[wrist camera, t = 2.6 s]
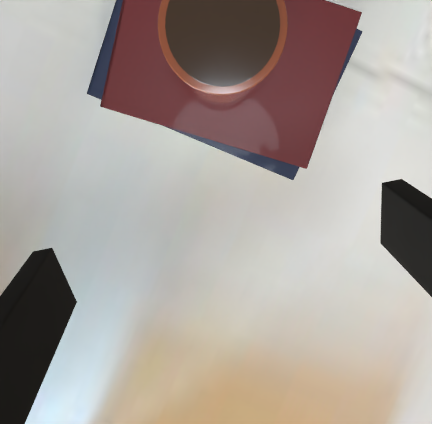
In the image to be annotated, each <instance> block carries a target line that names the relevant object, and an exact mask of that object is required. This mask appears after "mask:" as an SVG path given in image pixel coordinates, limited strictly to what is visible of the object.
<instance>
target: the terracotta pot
mask: <svg viewBox="0 0 432 424" xmlns="http://www.w3.org/2000/svg"><path fill="white" fill-rule="evenodd" d="M287 29H288V17H287V10H286V5H285V2H284V0H161V4H160V8H159V14H158V37H159V41H160V46H161V49H162V52H163V54H164V56H165V58H166V60H167V62H168V64H169V65H170V67H171V68H172V70H173V71H174V72H175V74H176V75H177V76H178V77H179V78H180V79H181V80H182V81H183V82H184V83H185V84H186V85H188V86H189V88H190V89H191V90H192V91H193V92H194V93H195V94H196V95H198V96H199V97H201V98H203V99H205V100H207V101H210V102H214V103H229V102H233V101H236V100H239V99H241V98H242V97H244V96H245V95H247V94H248V93H249V92H250V91H251V90H252V89H253V88H254V87H255V86H257V85H258V84H259V83H260V82H262V81H263V80H264V79H265V78H266V77H267V75H268V74H269V73H270V72H271V71H272V70H273V68H274V67H275V65H276V64H277V62H278V60H279V58H280V56H281V54H282V52H283V49H284V46H285V42H286V38H287Z"/></svg>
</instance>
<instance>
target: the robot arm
mask: <svg viewBox="0 0 432 424" xmlns="http://www.w3.org/2000/svg"><path fill="white" fill-rule="evenodd" d="M381 244H382V245H383V246H384V247H385V248H386V249H387V250H388V251H389V252H390V254H391V255H392V256H393V257H394V258H395V259H396V260H397V261H398V262H399V263H400V264H401V265H402V266H403V267H404V268H405V269H406V270H407V271H408V272H409V274H410V275H411V276H412V277H413V278H414V279H415V280H416V281H417V282H418V283H419V284H420V285H421V286H422V287H423V288H424V289H425V290H426V291H427V293H428V294H429V295H430V296H431V297H432V199H431V198H430V197H428V196H427V195H425V194H424V193H422V192H421V191H419V190H418V189H416V188H415V187H413V186H411V185H410V184H408V183H407V182H405V181H404V180H402V179H400V180H394V181H389V182H384V183H382V204H381ZM76 302H77V301H76V299H75V297H74V295H73V293H72V290H71V288H70V286H69V284H68V282H67V279H66V277H65V275H64V273H63V271H62V268H61V266H60V264H59V262H58V260H57V258H56V255H55V253H54V251H53V249H52V248H49V249H44V250H39V251H34V252H32V254H31V255H30V257H29V258H28V259H27V261H26V262H25V263H24V265H23V266H22V267H21V269H20V270H19V271H18V273H17V274H16V276H15V277H14V278H13V280H12V281H11V282H10V284H9V285H8V286H7V288H6V289H5V290H4V292H3V293H2V295H1V296H0V424H25V421H26V419H27V417H28V414H29V412H30V410H31V407H32V405H33V403H34V400H35V398H36V396H37V393H38V391H39V389H40V386H41V384H42V382H43V379H44V377H45V375H46V372H47V370H48V368H49V365H50V363H51V361H52V358H53V356H54V354H55V351H56V349H57V347H58V344H59V342H60V340H61V337H62V335H63V333H64V330H65V328H66V326H67V323H68V321H69V319H70V316H71V314H72V312H73V309H74V307H75V305H76Z"/></svg>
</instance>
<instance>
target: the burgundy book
mask: <svg viewBox="0 0 432 424" xmlns="http://www.w3.org/2000/svg"><path fill="white" fill-rule="evenodd" d="M284 2H285V5H286V10H287V17H288V29H287V38H286V42H285V46H284V49H283V52H282V54H281V56H280V58H279V60H278V62H277V64H276V65H275V67H274V68H273V70H272V71H271V72H270V73H269V74H268V75H267V77H266V78H265V79H264V80H263V81H262V82H260V83H259V84H258V85H257V86H255V87H254V88H253V89H252V90H251V91H250V92H249V93H248V94H247V95H245V96H244V97H242V98H241V99H239V100H236V101H233V102H229V103H214V102H210V101H207V100H205V99H203V98H201V97H199V96H198V95H196V94H195V93H194V92H193V91H192V90H191V89H190V88H189V86H188V85H186V84H185V83H184V82H183V81H182V80H181V79H180V78H179V77H178V76H177V75H176V74H175V72H174V71H173V70H172V68H171V67H170V65H169V64H168V62H167V60H166V58H165V56H164V54H163V52H162V49H161V46H160V41H159V37H158V14H159V8H160V4H161V0H123V2H122V7H121V11H120V16H119V21H118V25H117V30H116V35H115V40H114V44H113V49H112V54H111V58H110V63H109V68H108V72H107V77H106V82H105V86H104V91H103V96H102V100H101V105H100V107H104V108H107V109H110V110H114V111H117V112H120V113H123V114H127V115H130V116H133V117H137V118H140V119H143V120H147V121H150V122H153V123H157V124H160V125H163V126H167V127H170V128H173V129H176V130H180V131H183V132H186V133H190V134H193V135H196V136H200V137H203V138H206V139H210V140H213V141H216V142H219V143H223V144H226V145H229V146H233V147H236V148H239V149H243V150H246V151H249V152H253V153H256V154H259V155H263V156H266V157H269V158H272V159H276V160H279V161H282V162H286V163H289V164H292V165H296V166H299V167H302V168H306V169H307V167H308V164H309V161H310V158H311V155H312V152H313V150H314V147H315V144H316V141H317V138H318V135H319V133H320V130H321V127H322V124H323V121H324V118H325V116H326V113H327V110H328V107H329V104H330V101H331V99H332V96H333V93H334V90H335V87H336V85H337V82H338V79H339V76H340V73H341V70H342V68H343V65H344V62H345V59H346V56H347V53H348V51H349V48H350V45H351V42H352V39H353V36H354V34H355V31H356V28H357V25H358V22H359V19H360V17H361V14H362V12H359V11H356V10H353V9H350V8H347V7H344V6H341V5H338V4H335V3H332V2H329V1H326V0H284Z"/></svg>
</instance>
